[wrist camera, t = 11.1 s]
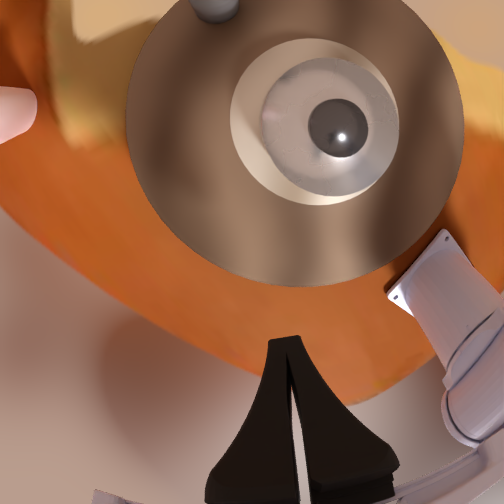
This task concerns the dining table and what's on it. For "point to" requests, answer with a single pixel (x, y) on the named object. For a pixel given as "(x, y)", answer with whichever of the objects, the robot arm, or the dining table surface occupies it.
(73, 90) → the dining table surface
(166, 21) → the turntable
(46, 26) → the dining table surface
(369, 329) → the dining table surface
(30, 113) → the smoothie
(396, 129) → the cover
